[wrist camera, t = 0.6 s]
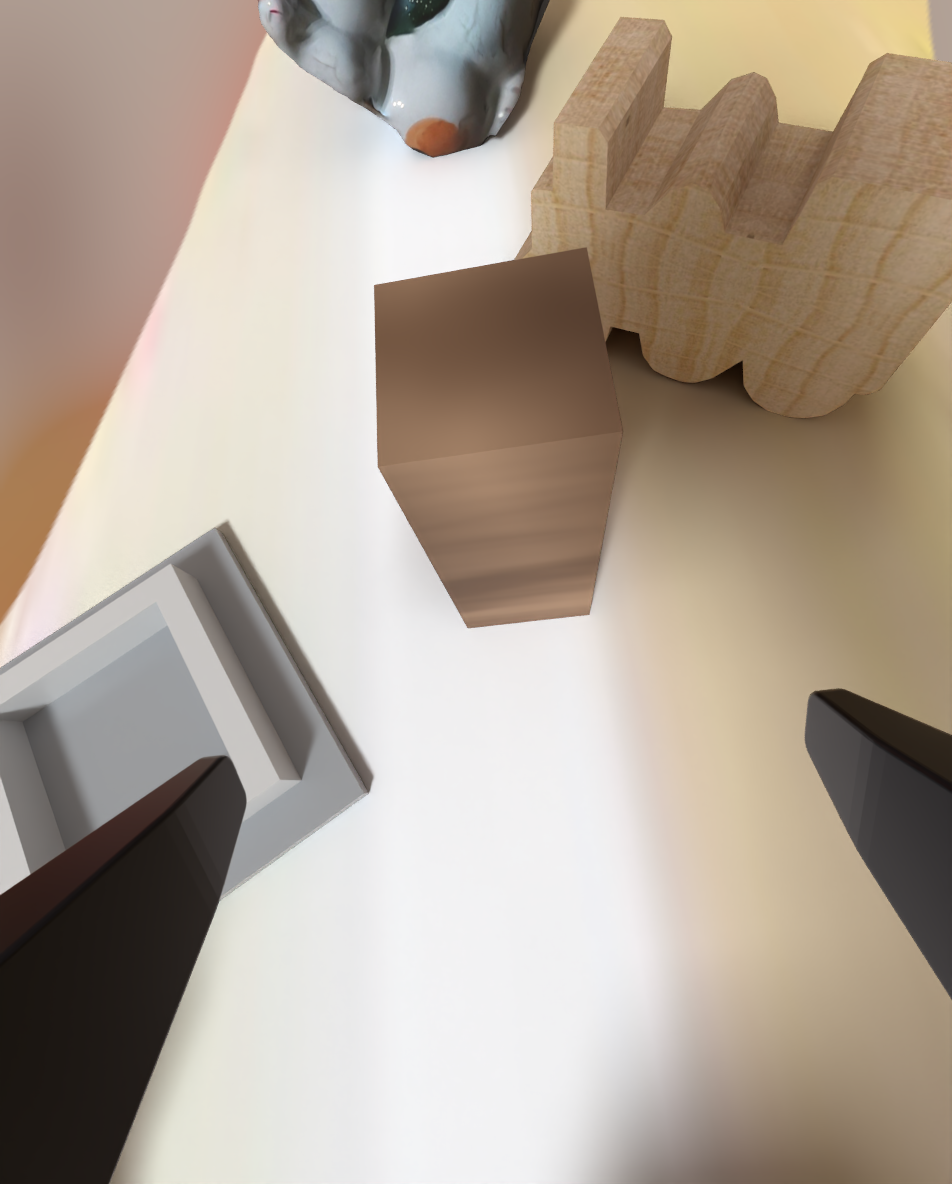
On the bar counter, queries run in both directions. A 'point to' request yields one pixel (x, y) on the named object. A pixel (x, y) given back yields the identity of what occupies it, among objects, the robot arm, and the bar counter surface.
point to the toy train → (756, 222)
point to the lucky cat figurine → (415, 60)
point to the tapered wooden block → (500, 431)
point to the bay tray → (165, 717)
